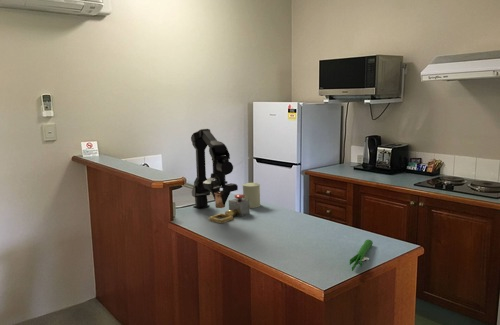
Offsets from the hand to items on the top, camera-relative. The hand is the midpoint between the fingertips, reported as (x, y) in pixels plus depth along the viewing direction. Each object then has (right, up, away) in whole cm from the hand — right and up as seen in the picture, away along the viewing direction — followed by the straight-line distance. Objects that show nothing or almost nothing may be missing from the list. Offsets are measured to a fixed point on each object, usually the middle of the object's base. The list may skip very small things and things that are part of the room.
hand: (220, 203), depth 191 cm
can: (+15, -4, +25) cm, 30 cm away
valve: (+7, -6, +8) cm, 13 cm away
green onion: (+53, -15, -51) cm, 75 cm away
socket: (0, -8, +1) cm, 8 cm away
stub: (0, -2, 0) cm, 2 cm away
